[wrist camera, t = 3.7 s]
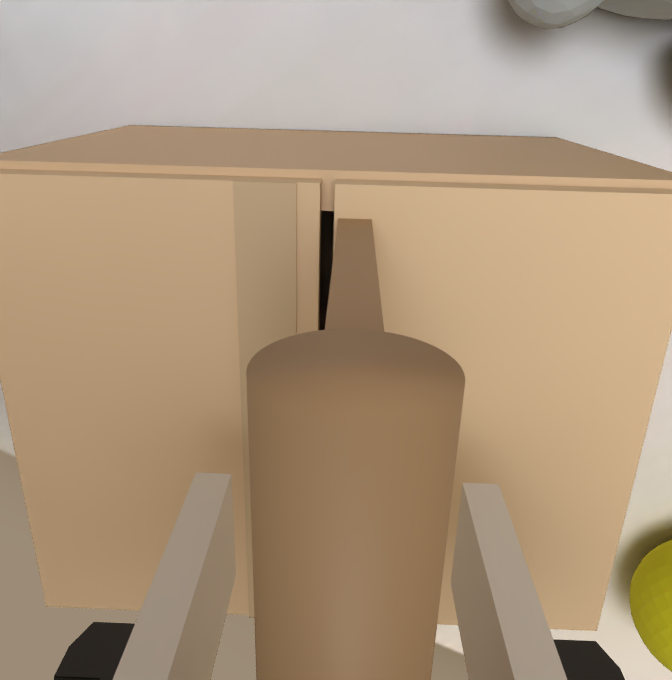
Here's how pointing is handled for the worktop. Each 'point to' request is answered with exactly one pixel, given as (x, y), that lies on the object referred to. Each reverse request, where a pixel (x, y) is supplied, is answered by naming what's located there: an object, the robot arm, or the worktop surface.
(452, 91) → the worktop surface
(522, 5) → the figurine
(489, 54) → the worktop surface
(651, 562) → the ornament
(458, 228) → the tan handled panel part
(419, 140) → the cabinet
